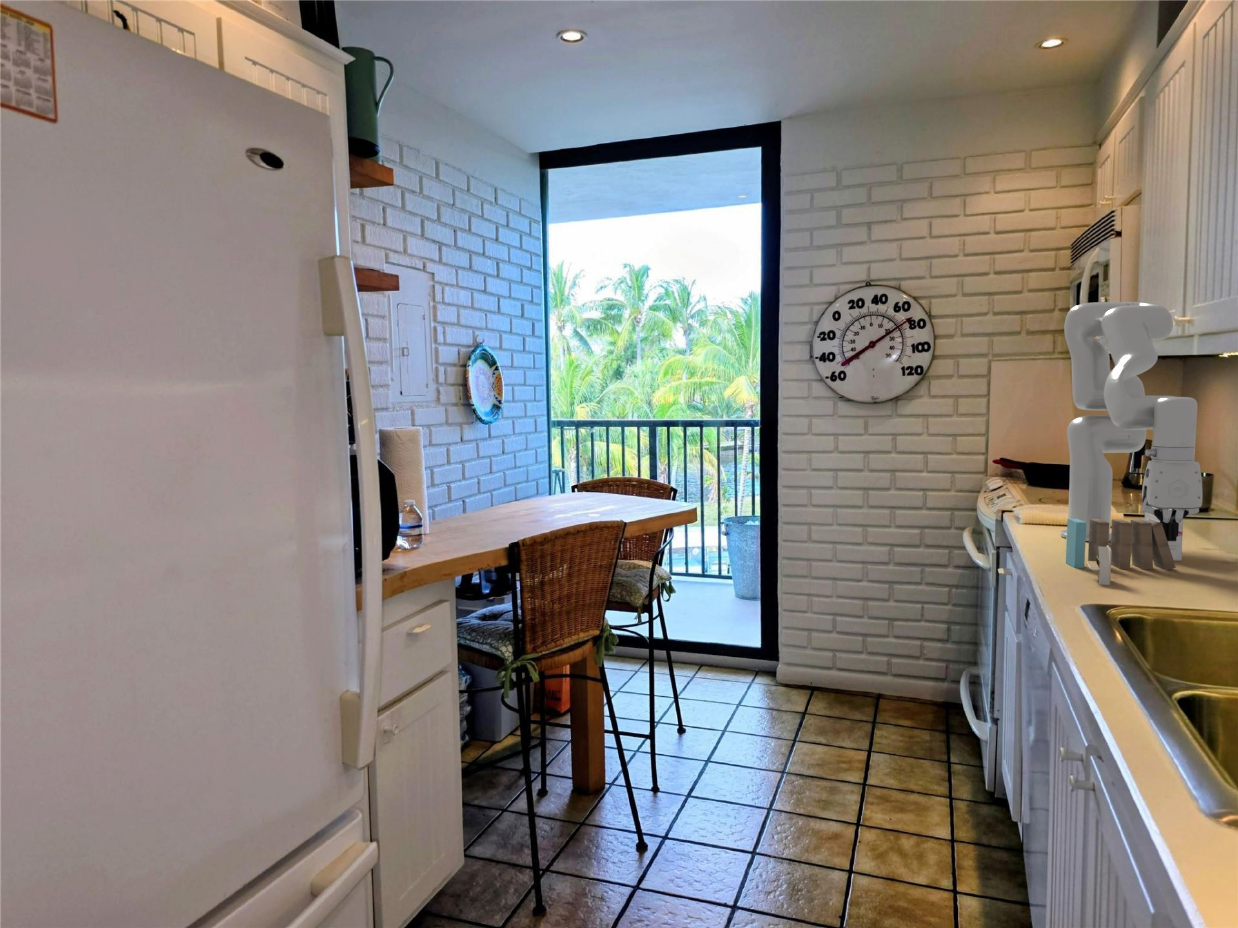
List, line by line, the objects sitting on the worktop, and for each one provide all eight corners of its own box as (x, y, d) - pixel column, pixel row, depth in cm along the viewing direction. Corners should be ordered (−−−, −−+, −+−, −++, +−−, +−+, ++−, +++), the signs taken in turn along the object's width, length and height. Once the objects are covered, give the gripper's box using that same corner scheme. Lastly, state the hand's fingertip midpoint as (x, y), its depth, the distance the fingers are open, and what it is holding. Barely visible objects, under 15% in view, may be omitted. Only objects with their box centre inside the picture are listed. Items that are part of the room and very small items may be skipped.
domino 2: (1087, 563, 178) (1089, 518, 177) (1097, 563, 178) (1099, 519, 177) (1097, 568, 173) (1099, 522, 172) (1107, 568, 173) (1109, 522, 172)
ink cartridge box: (1141, 553, 189) (1144, 490, 188) (1164, 553, 188) (1168, 491, 187) (1157, 560, 181) (1161, 495, 179) (1182, 561, 180) (1186, 496, 178)
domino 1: (1065, 563, 179) (1067, 518, 178) (1075, 563, 179) (1077, 518, 178) (1074, 567, 174) (1076, 522, 173) (1084, 568, 174) (1086, 522, 173)
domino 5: (1154, 565, 176) (1140, 522, 176) (1164, 562, 175) (1150, 519, 175) (1165, 570, 171) (1151, 526, 171) (1175, 567, 171) (1161, 523, 170)
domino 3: (1109, 564, 177) (1112, 519, 177) (1119, 564, 177) (1121, 519, 176) (1119, 569, 173) (1122, 523, 172) (1130, 569, 172) (1132, 523, 171)
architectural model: (1090, 586, 160) (1091, 549, 160) (1086, 578, 166) (1087, 543, 166) (1109, 587, 159) (1111, 550, 158) (1105, 580, 165) (1107, 544, 164)
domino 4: (1132, 564, 177) (1130, 519, 176) (1142, 564, 176) (1140, 519, 175) (1142, 569, 172) (1141, 523, 171) (1153, 569, 171) (1151, 523, 171)
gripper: (1143, 456, 168) (1138, 542, 170) (1222, 456, 166) (1216, 544, 168) (1126, 453, 176) (1122, 536, 178) (1202, 453, 173) (1197, 537, 175)
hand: (1168, 539), depth 173 cm, fingers closed
